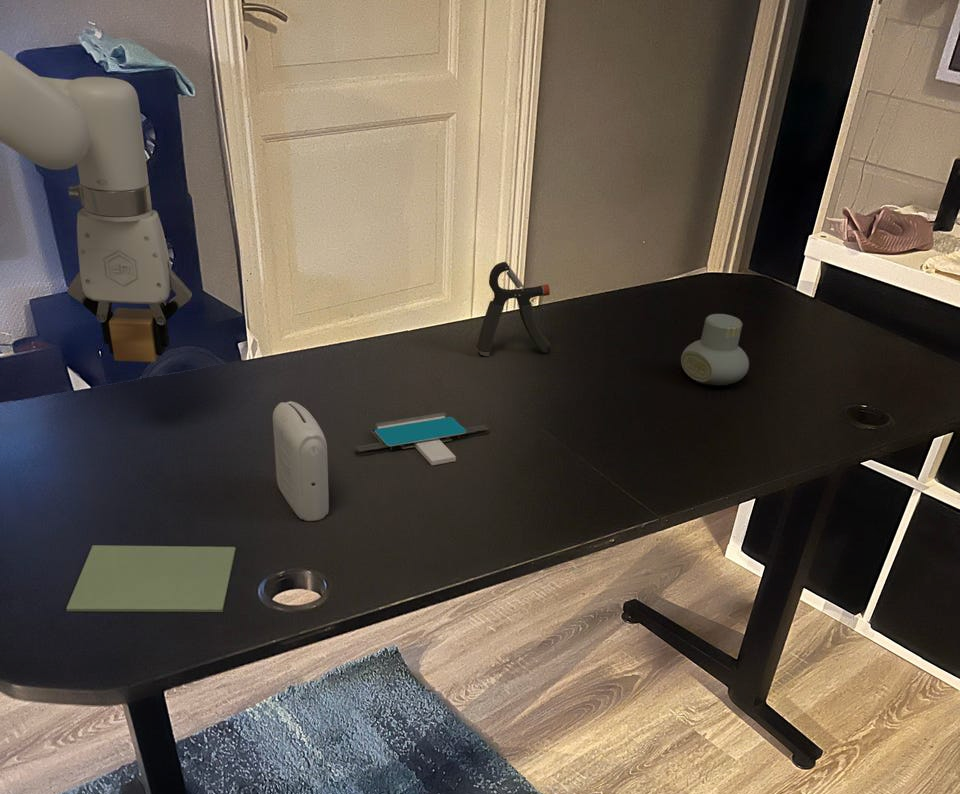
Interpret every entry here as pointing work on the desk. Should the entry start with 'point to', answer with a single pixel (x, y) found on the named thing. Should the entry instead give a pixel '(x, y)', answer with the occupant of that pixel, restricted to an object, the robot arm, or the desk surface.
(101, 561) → the mat
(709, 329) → the air freshener
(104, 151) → the robot arm
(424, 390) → the desk surface
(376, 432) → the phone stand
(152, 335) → the block
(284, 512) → the desk surface
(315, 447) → the photo printer
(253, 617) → the desk surface
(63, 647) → the desk surface
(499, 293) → the hand grip strengthener
